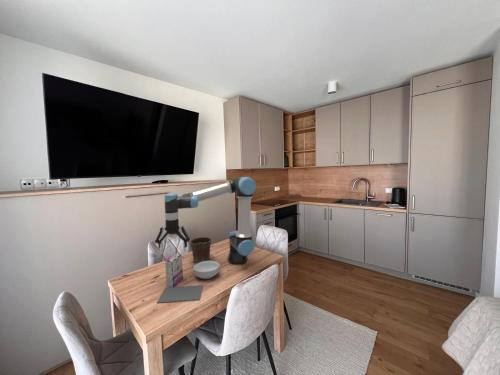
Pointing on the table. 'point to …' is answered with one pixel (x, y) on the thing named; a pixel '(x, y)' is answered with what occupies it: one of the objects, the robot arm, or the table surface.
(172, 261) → the candy bar box
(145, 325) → the table surface
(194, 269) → the cereal bowl
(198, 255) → the plant pot
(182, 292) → the mat
